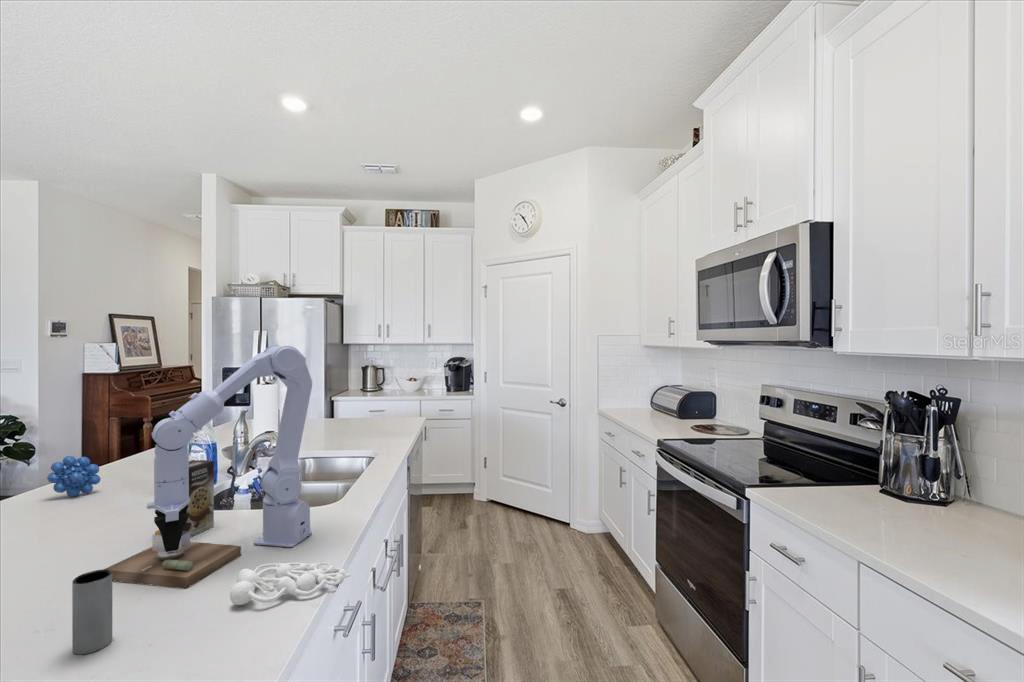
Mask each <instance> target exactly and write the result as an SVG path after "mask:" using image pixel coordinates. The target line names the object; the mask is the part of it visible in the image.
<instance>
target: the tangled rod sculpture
mask: <svg viewBox="0 0 1024 682" xmlns="http://www.w3.org/2000/svg"><path fill="white" fill-rule="evenodd" d="M322 565H325V566H327V567H326V569H325V570H324V569H320V568H319V566H322ZM293 566H297V567H293ZM264 567H266V568H264ZM261 568H264V569H262V570H260V569H261ZM258 570H260V571H259V572H257V571H258ZM272 571H273V572H275V575H276V577H266V576H263V575H264V574H265V573H268V572H272ZM335 571H337V572H335ZM297 574H298V575H297ZM261 576H263V577H261ZM349 577H351V574H350V573H347V570H346V569H344V568H337V567H335V566H334V565H332V564H331V563H329V562H325V561H322V562H319V563H315V562H313V563H306V562H303V563H302V562H297V561H296V562H286V563H281V562H280V563H278V562H277V563H264V564H260V565H258V566H256V567H255V569H254V570H252V569H250V568H243V569H241V570H240V571H239V572H238V574H237V578H236V583H234V585H233V586H232V588H231V590H230V592H229V599H230V601H231V603H233V604H234V605H235V606H244V605H246V604H248V603H249V602H251V600H254V601H257V602H259V603H271V602H272V603H273V602H274V601H277V600H278V599H280V597H281V596H282V595H284V594H290V595H298V596H302V597H303V596H304V597H308V596H311V595H313V594H315V593H316V592H318V591H319V590H321V588H323V587H324V586H325V585H326V584H327V585H329V586H330V585H331V586H336V585H340V584H343V582H344V580H345V578H349ZM295 580H296V581H295ZM329 580H330V581H329ZM332 581H333V582H332ZM269 583H272V585H275V586H271V585H270V584H269ZM316 583H318V585H316ZM259 584H260V585H264V586H266V587H267V588H268V589H269V591H270V592H272V591H274V590H276V592H277V593H276V595H273V596H270V597H263V596H266V595H268V593H269V592H268V591H267V590H264V588H263V587H261V586H260V585H259ZM257 588H258V589H259V590H260V591H261V593H262V596H259V595H257V594H256V593H255V590H256V589H257Z"/></svg>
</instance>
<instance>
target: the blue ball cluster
mask: <svg viewBox="0 0 1024 682" xmlns="http://www.w3.org/2000/svg"><path fill="white" fill-rule="evenodd" d="M50 469H51V471H52V472H51V473H50V474H48V475H47V477H46V479H47V481H48V482H49V483H51V484H54V485H53V487H52V488H53V491H54V492H55V493H59V494H62V493H63V494H64V492H65V493H66V495H67V496H68V497H75V498H76V497H77V496H78V495H80V493H82V494H90V493H91V492H92V491H93V490H94V487H93V485H97V484H100V482H101V477H100V475H99V474H98V473H99V471H100V467H99V465H97V464H95V463H91V460H90V458H89V457H87V456H80V457H77V458H76V457H75V456H73V455H66V456H65V457H63V459H62V462H61V461H55V462H53V463H52V464H51V466H50Z"/></svg>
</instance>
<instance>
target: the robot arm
mask: <svg viewBox="0 0 1024 682" xmlns="http://www.w3.org/2000/svg"><path fill="white" fill-rule="evenodd" d="M274 375H275V377H278V379H279V380H280V381H281V382H282V383H283V385H284V386H285V387H286V393H285V399H284V403H283V408H282V412H281V417H280V423H279V427H278V431H277V436H276V437H277V438H276V442H275V447H274V451H273V455H272V457H271V459H270V460H269V461H268V464H267V469H266V470H265V471H264V473H263V474H262V476H261V479H260V482H259V483H260V488H261V490H262V491H263V492H265V495H264V497H263V499H262V536H261V537H260V538H258V539H257V540H254V541H253V545H258V546H270V547H281V548H282V547H284V548H293V547H294V546H296V545H297V544H299V543H301V542H302V541H303V540H305V539H307V538H308V537H309V536H311V535H312V533H313V532H312V531H311V507H310V504H309V503H308V502H307V501H304V500H301V499H299V494H300V493H301V490H302V484H301V483H302V482H301V480H300V474H301V468H300V463H299V459H298V458H299V455H300V454H299V453H300V449H301V446H302V445H301V443H302V439H303V433H304V429H305V424H306V420H307V414H308V408H309V403H310V397H311V393H312V388H313V379H312V377H311V374H310V371H309V368H308V366H307V358H306V357H305V356H304V355H303V354H302V353H301V352H300V350H299V349H298V348H296V347H294V346H292V345H278V344H276V345H274V344H273V345H271V346H270V345H269V346H268V347H267V348H265V349H264V350H263V351H261V352H259V353H257V354H255V355H254V356H253V357H251V358H250V359H249V360H248V361H247V362H246V363H244V364H243V365H241V367H239V368H238V369H237V370H236V371H234V373H232V374H231V375H230V376H229V377H227V378H226V379H225V380H224V381H223V382H222V383H220V384H218V385H217V386H216V388H214V389H212V390H202V391H200V392H199V393H197V392H194V393H193V394H191V395H190V396H189V398H190V400H189V401H187V402H186V403H184V404H183V405H182V406H181V407H179V408H178V409H177V410H176V411H174V410H172V411H170V412H169V413H168V416H170V417H167V418H164V419H161V420H160V421H158V422H157V423H156V424H155V425H154V428H153V429H152V432H151V438H152V439H153V441H154V442H155V443H156V444H155V447H154V455H155V456H154V458H153V485H154V486H153V487H154V488H153V489H154V490H153V493H154V494H153V496H154V497H153V500H154V501H153V502H148V503H146V509H147V510H151V509H154V513H155V515H156V516H154V519H153V522H154V524H155V526H156V527H157V528H158V530H160V533H161V536H162V540H163V545H164V548H165V551H166V552H169V551H174V550H178V548H179V544H180V539H181V536H182V531H183V528H184V525H185V523H186V521H187V520H188V517H189V513H186V511H187V509H188V503H190V497H189V461H190V456H189V453H188V450H189V449H188V444H189V443H190V442H191V440H192V437H193V433H198V431H200V430H201V429H202V428H204V427H205V426H206V425H208V423H210V422H211V421H212V420H213V419H214V418H217V416H218V415H220V414H221V413H222V412H223V411H224V406H225V402H226V401H227V400H229V399H230V398H231V397H233V396H234V395H236V394H238V392H240V391H241V390H242V389H244V388H245V387H247V386H248V385H249V384H251V383H252V382H253V381H254V380H256V379H257V378H261V377H267V376H268V377H269V376H274ZM310 534H311V535H310ZM307 536H308V537H307Z"/></svg>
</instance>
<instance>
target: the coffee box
mask: <svg viewBox="0 0 1024 682" xmlns="http://www.w3.org/2000/svg"><path fill="white" fill-rule="evenodd" d="M214 483H215V461H214V460H206V459H203V460H202V459H201V460H199V459H196V460H195V459H192V460H189V497H190V503H188V509H187V511H186V513H189V517H188V520H187V521H186V523H185V525H184V528H183V531H190V538H191V537H194V536H195V535H199V534H200V533H203V532H204V531H207V530H208V529H211V528H213V527H214V524H215V521H214V518H215V516H214V514H215V508H214V507H215V506H214V505H215V503H214V501H215V495H214V493H215V484H214Z"/></svg>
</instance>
